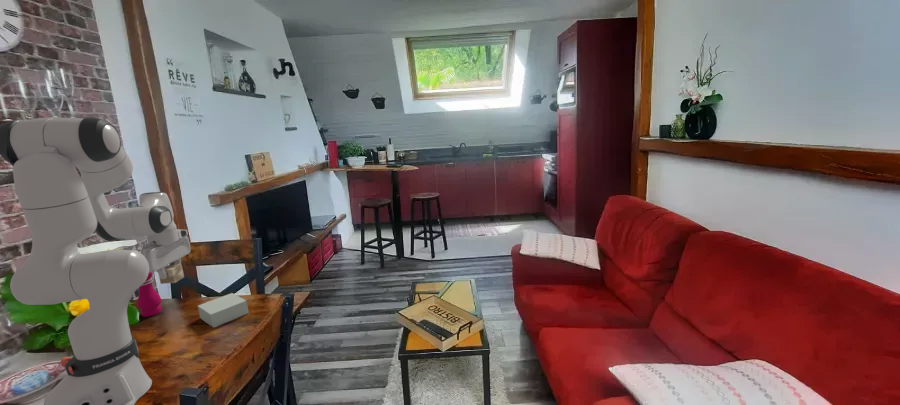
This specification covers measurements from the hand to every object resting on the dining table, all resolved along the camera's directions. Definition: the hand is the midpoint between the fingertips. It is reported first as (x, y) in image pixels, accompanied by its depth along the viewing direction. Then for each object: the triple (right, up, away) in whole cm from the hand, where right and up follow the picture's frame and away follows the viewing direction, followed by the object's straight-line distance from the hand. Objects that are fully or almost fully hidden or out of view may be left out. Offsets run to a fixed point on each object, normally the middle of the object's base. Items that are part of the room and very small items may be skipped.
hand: (171, 274), depth 137 cm
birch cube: (0, -2, 0) cm, 2 cm away
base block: (+17, -16, +4) cm, 23 cm away
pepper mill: (-15, -17, +10) cm, 24 cm away
